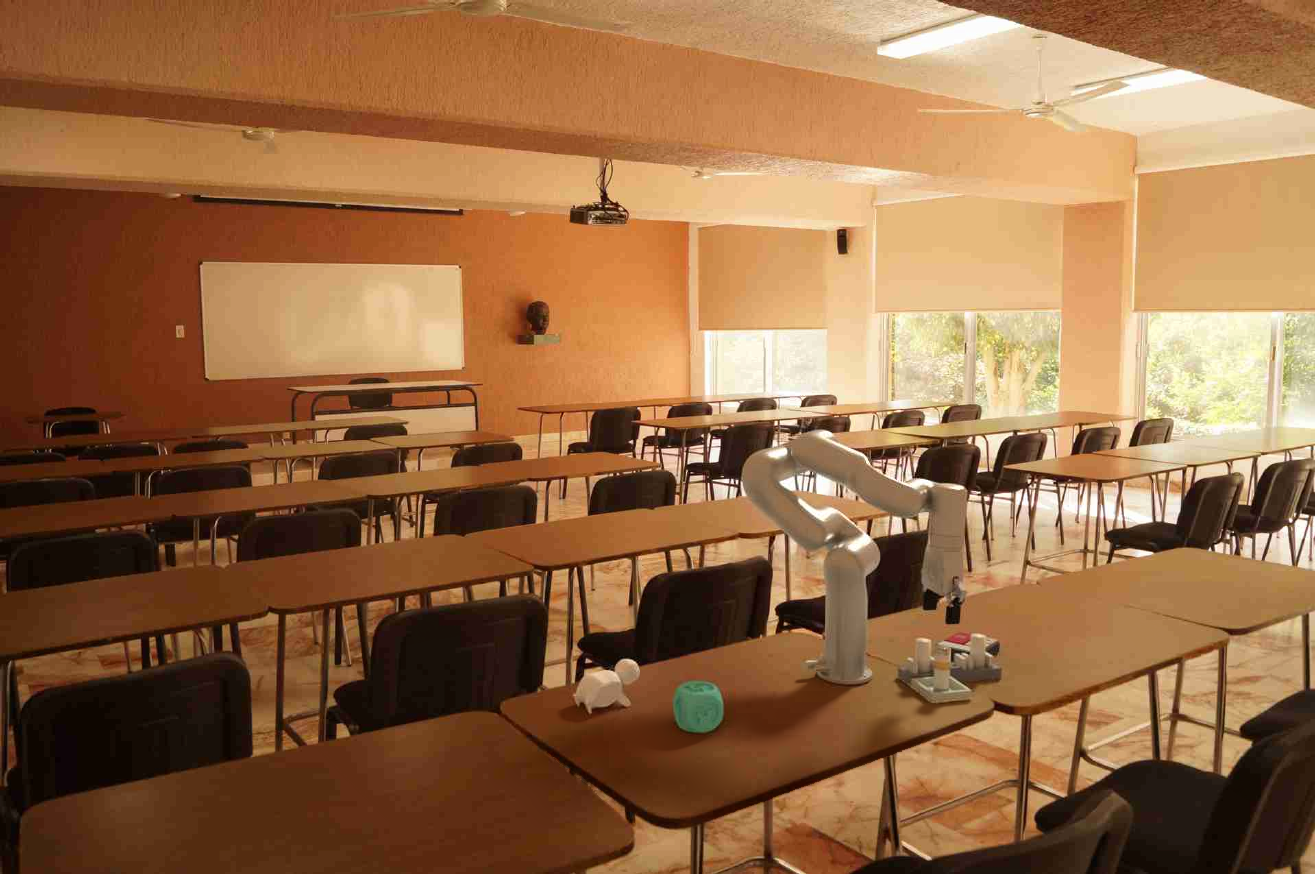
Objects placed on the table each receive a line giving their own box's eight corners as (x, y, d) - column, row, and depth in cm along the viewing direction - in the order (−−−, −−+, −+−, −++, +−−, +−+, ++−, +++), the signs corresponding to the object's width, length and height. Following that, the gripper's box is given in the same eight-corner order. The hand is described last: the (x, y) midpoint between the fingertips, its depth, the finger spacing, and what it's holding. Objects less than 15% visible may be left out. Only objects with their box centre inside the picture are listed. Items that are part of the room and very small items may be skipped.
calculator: (1000, 638, 243) (978, 651, 232) (999, 655, 244) (977, 669, 232) (957, 630, 250) (934, 642, 238) (956, 646, 250) (933, 659, 239)
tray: (932, 703, 210) (932, 694, 210) (910, 688, 219) (911, 678, 219) (971, 700, 213) (971, 690, 212) (948, 684, 222) (949, 675, 221)
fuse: (938, 694, 214) (939, 650, 213) (930, 689, 217) (931, 645, 216) (952, 693, 215) (954, 649, 213) (944, 687, 218) (945, 644, 217)
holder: (910, 687, 220) (911, 646, 219) (897, 677, 226) (899, 637, 225) (1001, 678, 225) (1002, 638, 224) (986, 669, 231) (988, 630, 230)
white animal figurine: (598, 728, 205) (653, 689, 212) (585, 695, 202) (641, 657, 209) (578, 715, 212) (632, 677, 219) (565, 683, 209) (620, 646, 216)
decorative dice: (672, 720, 202) (672, 683, 201) (707, 715, 204) (708, 678, 203) (687, 736, 194) (687, 697, 193) (723, 730, 197) (724, 692, 196)
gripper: (910, 532, 219) (906, 605, 222) (951, 551, 203) (945, 630, 205) (941, 531, 221) (936, 604, 223) (983, 550, 204) (977, 628, 207)
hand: (940, 616), depth 214 cm, fingers open, 9 cm apart
